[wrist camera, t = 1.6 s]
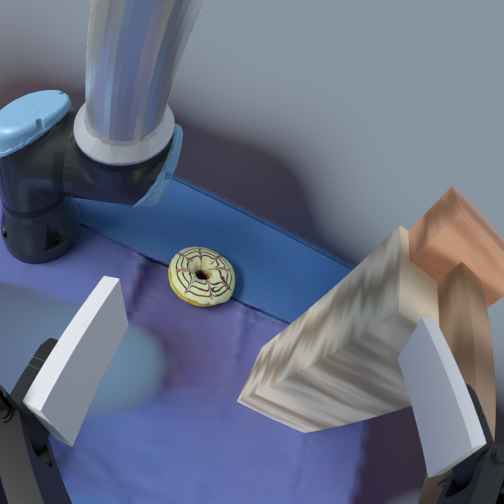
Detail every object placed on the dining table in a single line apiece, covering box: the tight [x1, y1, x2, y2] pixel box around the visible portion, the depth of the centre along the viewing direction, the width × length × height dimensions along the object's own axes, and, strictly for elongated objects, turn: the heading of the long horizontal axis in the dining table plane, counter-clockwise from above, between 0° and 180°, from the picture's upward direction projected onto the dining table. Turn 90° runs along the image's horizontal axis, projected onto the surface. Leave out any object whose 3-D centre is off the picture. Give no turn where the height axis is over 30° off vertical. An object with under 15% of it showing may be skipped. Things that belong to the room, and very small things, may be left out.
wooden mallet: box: [408, 186, 504, 504], centre depth 14 cm, size 22×10×6 cm, turn 157°
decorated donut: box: [168, 247, 235, 307], centre depth 47 cm, size 10×11×4 cm
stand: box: [237, 225, 439, 433], centre depth 32 cm, size 10×12×30 cm
